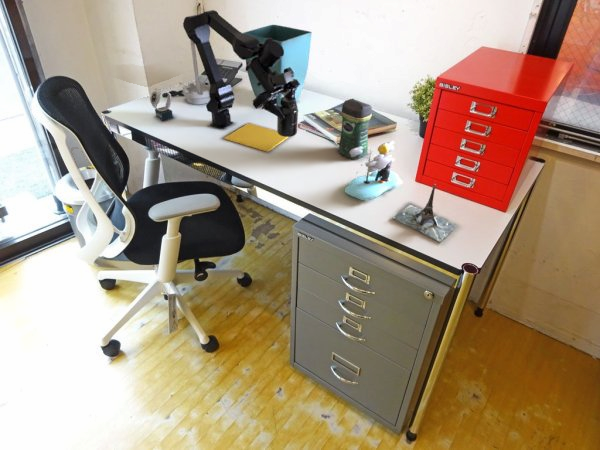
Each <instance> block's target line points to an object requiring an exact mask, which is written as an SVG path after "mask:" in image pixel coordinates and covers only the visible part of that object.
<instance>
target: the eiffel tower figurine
mask: <svg viewBox="0 0 600 450" xmlns="http://www.w3.org/2000/svg"><path fill="white" fill-rule="evenodd" d="M435 188H436V181H434V184H433V185H432V189H431V193H430V196H429V198H428V201H427V203H426V204H425V206H424V207H423V209H422V208H419V207H417V206H415V205H412V204H408V206H406V207H405V208H403V209H402V210H401V211H400V212H398V213H397V214H396V215H394V216H393V217H392V219H393V220H396V221H398V222H400V223H402V224H404V225H406V226H408V227H410V228H412V229H414V230H416V231H418V232H420V233H422V234H424V235H426V236H428V237H429V238H431V239H433V240H435V241H437V242H438V243H441V242H442V241H443V240H445V238H446V237H447V236H449V234H450V233H452V231H453V230H454V229H455V228H456V227H457V226H458V224H457V223H454V222H451V221H449V220H446V219H444V218H442V217H440V216H437V215H435V214H434V211H433V208H434V206H433V204H434V196H435V190H436V189H435Z"/></svg>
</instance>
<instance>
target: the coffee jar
mask: <svg viewBox="0 0 600 450" xmlns="http://www.w3.org/2000/svg"><path fill="white" fill-rule="evenodd" d="M372 111H373V110H372V105H371V104H368V103H365V102H364V101H361V100H357V99H355V98H350V99H347V100H345V101H344V102H343V103H342V107H341V119H342V122H341V123H342V124H341V131H340V138H339V145H338V151H339V153H340V154H341V155H343V156H345V157H348V158H350V159H353V160H357V159H362V158H365V157H366V156H367V155H368V147H369V146H368V145H369V144H368V143H369V124H370V120H371V118H372V113H373V112H372ZM360 146H361V147H362V149H361V150H362V151H363V152H362V153H361V154H359V155H356V156H354V157H351V154H349V152H350V151H351V150H352V149H354V148H357V147H360Z"/></svg>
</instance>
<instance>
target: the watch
mask: <svg viewBox="0 0 600 450" xmlns="http://www.w3.org/2000/svg"><path fill="white" fill-rule="evenodd" d="M162 92H164V93H166V94H167V98H166V102H165V106H161V107H158V104H159V103H160V101H161V94H162ZM149 101H150V104H151V106H152V108H154V112H155V117H156V118H157V119H159V120H160V121H162V122H165V121H169V120H172V119H174V116H173V115H174V114H173V111H172V109H170V107H171V105H172V101H173V98H172V94H171V93H170V92H169V91H167V90H166V89H164V88H159V89H156V90H154V91H152V92H151V95H150V97H149Z"/></svg>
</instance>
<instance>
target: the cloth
mask: <svg viewBox="0 0 600 450" xmlns="http://www.w3.org/2000/svg"><path fill="white" fill-rule="evenodd" d="M288 138H289V137H284V136H281V135H279V134H278V132H277V130H274V129H270V128H267V127H265V126H264V127H263V126H260V125H256V124H253V123H250V122H249V123H247V124H245V125H243V126H241V127H240V128H238V129H236V130H235V131H233V132H231V133H230V134H228V135H226V136H225V137H224V140H227V141H231V142H234V143H237V144H241V145H243V146H247V147H249V148H253V149H256V150H260V151H264V152H267V153H268V152H270V151H271V150H273V149H274V148H276V147H277V146H278V145H280V144H282V142H284V141H285V140H286V139H288Z"/></svg>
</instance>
